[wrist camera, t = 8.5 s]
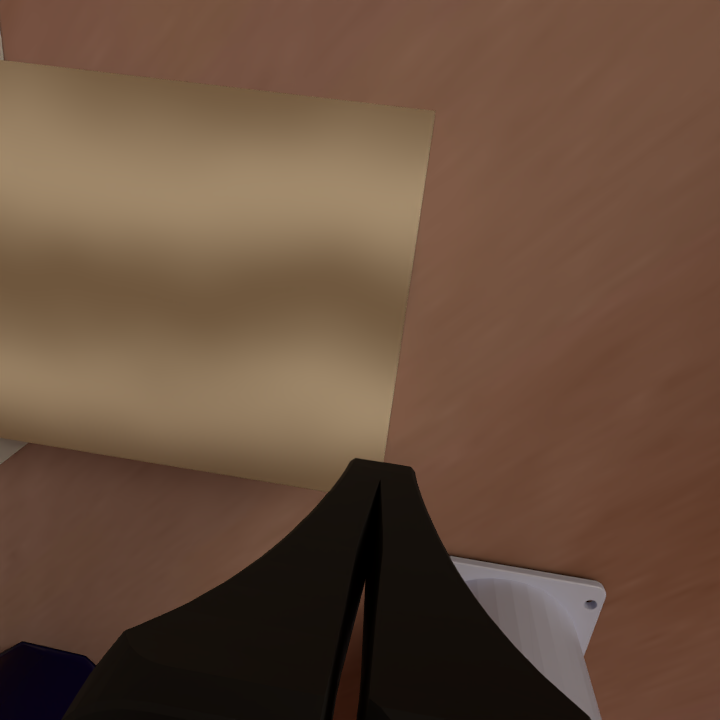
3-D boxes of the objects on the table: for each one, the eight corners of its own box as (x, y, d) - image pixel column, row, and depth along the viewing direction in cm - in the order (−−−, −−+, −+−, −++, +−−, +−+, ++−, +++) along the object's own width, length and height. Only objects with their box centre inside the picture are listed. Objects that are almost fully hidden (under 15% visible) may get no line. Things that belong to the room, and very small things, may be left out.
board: (386, 439, 22) (377, 500, 19) (54, 387, 23) (-16, 434, 20) (434, 115, 18) (435, 111, 14) (18, 66, 19) (-83, 50, 15)
